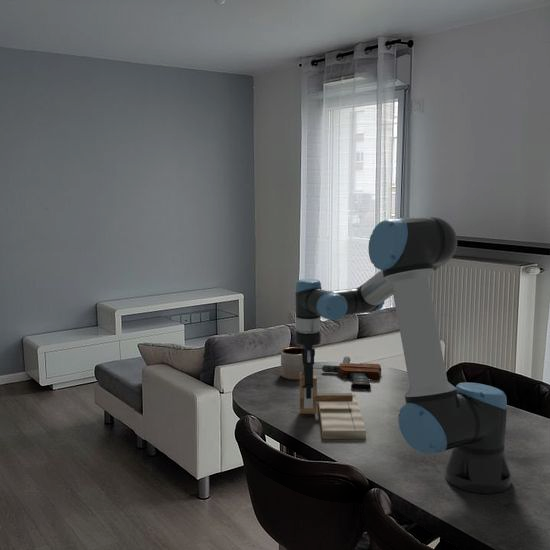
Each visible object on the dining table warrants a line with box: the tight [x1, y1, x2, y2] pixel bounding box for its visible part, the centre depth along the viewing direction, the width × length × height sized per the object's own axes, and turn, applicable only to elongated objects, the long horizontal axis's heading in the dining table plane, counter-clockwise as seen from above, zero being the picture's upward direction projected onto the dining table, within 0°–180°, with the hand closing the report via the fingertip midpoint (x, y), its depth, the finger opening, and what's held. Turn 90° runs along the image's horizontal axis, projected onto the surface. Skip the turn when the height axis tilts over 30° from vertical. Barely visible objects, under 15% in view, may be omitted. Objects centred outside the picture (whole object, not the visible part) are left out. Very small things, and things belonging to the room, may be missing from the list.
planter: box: [280, 346, 304, 381], centre depth 237 cm, size 11×11×10 cm
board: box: [317, 394, 367, 440], centre depth 195 cm, size 30×12×2 cm, turn 179°
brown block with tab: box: [299, 371, 354, 414], centre depth 197 cm, size 6×16×11 cm, turn 89°
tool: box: [316, 356, 382, 391], centre depth 237 cm, size 4×27×30 cm
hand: (308, 403), depth 198 cm, fingers closed on brown block with tab, 6 cm apart
